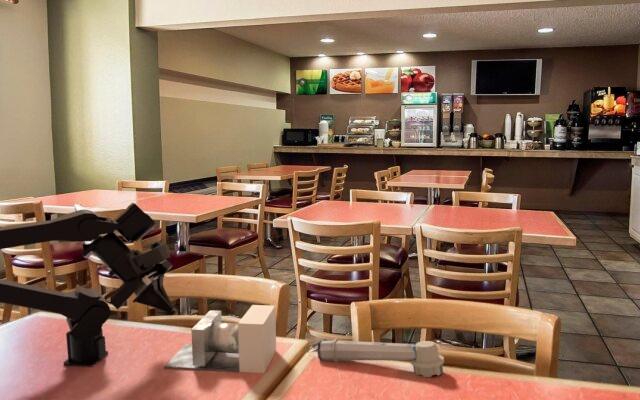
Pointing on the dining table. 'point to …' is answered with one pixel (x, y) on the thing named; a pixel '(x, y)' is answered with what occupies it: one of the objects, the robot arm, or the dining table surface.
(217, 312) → the grey piece
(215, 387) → the dining table surface
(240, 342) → the socket
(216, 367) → the plate
